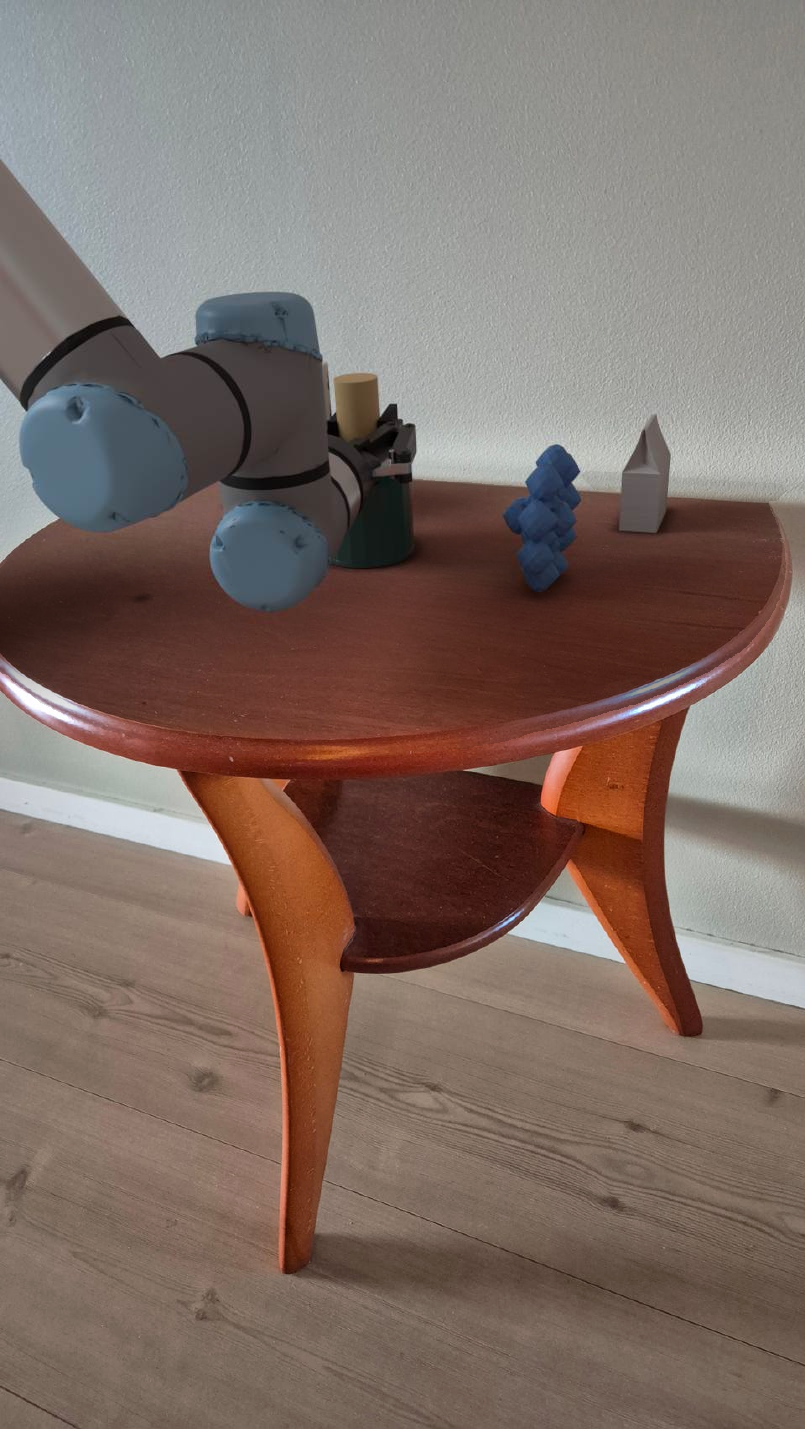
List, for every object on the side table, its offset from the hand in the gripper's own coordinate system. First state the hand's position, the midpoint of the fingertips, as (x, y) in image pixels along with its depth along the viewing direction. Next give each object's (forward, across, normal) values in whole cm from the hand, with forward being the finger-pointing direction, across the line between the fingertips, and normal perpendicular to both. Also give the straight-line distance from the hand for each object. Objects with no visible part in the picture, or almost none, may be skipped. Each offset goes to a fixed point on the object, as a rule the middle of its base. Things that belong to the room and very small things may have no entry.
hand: (370, 418), depth 97 cm
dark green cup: (-5, 0, -12) cm, 13 cm away
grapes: (-12, +17, -12) cm, 24 cm away
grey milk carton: (+4, +27, -12) cm, 30 cm away
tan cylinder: (-5, 0, -7) cm, 9 cm away
